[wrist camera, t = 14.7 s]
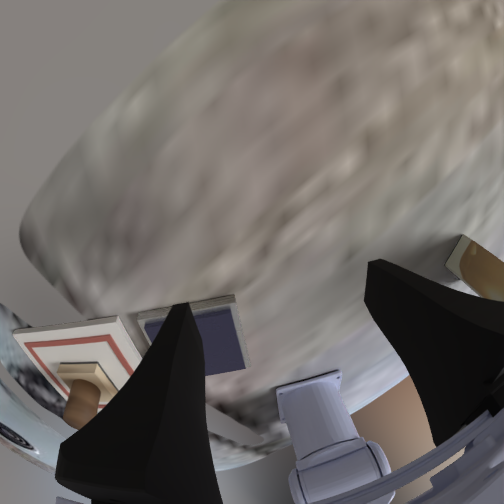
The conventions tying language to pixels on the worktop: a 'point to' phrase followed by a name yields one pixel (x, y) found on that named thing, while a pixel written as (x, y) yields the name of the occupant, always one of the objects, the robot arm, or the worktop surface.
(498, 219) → the worktop surface
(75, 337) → the marked board
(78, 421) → the stamp
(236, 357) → the ink pad
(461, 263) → the skincare box
